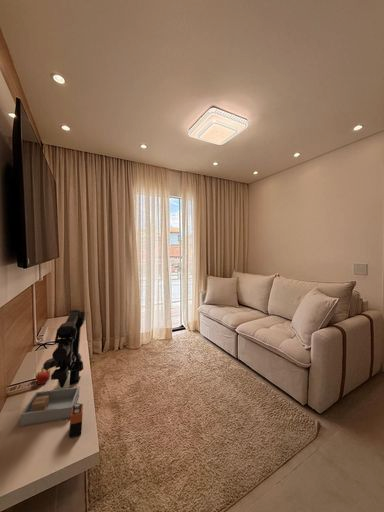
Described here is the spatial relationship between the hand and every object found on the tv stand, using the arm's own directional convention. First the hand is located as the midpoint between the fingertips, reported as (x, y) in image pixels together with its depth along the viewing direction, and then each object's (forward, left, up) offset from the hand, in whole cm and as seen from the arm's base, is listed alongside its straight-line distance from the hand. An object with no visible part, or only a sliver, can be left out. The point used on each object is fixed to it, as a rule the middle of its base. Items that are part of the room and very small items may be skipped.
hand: (63, 384), depth 101 cm
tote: (0, -4, -12) cm, 12 cm away
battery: (+16, +9, -12) cm, 22 cm away
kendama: (-31, -19, -12) cm, 38 cm away
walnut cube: (0, -9, -11) cm, 14 cm away
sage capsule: (0, 0, -2) cm, 2 cm away
